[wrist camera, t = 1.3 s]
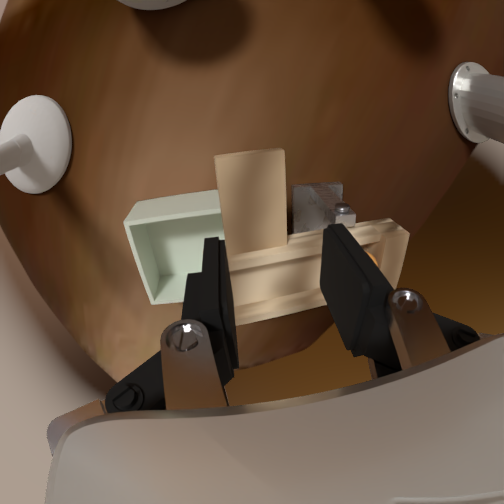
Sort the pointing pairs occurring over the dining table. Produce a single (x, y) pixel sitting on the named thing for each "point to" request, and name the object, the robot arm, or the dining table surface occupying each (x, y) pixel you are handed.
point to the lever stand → (319, 207)
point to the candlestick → (35, 144)
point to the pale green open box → (172, 240)
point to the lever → (282, 240)
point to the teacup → (151, 4)
